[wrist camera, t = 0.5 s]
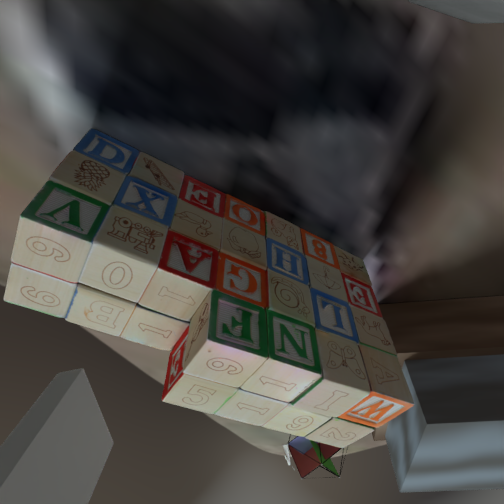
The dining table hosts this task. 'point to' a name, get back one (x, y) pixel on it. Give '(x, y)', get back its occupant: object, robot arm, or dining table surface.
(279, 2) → the dining table surface
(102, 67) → the dining table surface
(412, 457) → the grey brown square block
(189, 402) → the stack of blocks
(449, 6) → the coffeepot
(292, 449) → the geometric puzzle
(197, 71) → the dining table surface
